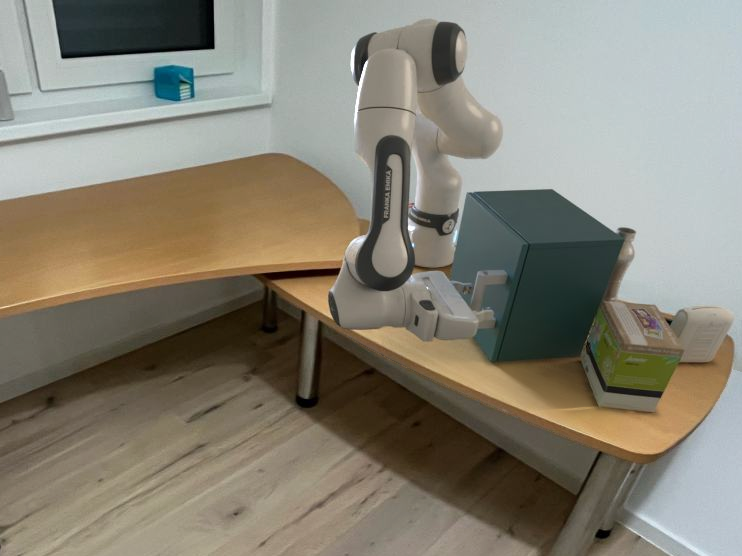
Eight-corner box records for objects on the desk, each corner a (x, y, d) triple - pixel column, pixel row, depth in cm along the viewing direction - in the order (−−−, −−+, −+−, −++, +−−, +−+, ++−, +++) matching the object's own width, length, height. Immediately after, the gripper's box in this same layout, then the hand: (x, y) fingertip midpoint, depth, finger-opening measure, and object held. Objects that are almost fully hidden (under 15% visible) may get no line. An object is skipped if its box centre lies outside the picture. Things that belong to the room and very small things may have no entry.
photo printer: (701, 351, 119) (728, 301, 112) (714, 364, 116) (743, 312, 109) (653, 351, 119) (677, 301, 112) (664, 364, 116) (690, 312, 108)
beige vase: (615, 319, 130) (648, 238, 118) (584, 315, 131) (614, 235, 119) (608, 304, 135) (639, 226, 123) (578, 301, 136) (606, 223, 124)
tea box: (577, 360, 116) (601, 297, 108) (629, 365, 115) (658, 303, 106) (596, 407, 104) (625, 341, 96) (655, 414, 103) (689, 348, 94)
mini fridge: (497, 362, 116) (530, 243, 100) (451, 297, 137) (473, 191, 122) (580, 357, 117) (625, 239, 102) (522, 293, 139) (552, 188, 124)
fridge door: (464, 363, 115) (492, 245, 100) (423, 298, 136) (442, 193, 121) (496, 361, 115) (529, 244, 100) (450, 297, 137) (472, 192, 122)
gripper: (396, 291, 119) (459, 288, 120) (427, 347, 102) (500, 343, 104) (399, 264, 115) (465, 261, 117) (432, 318, 99) (508, 313, 100)
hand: (481, 300), depth 110 cm, fingers open, 8 cm apart
